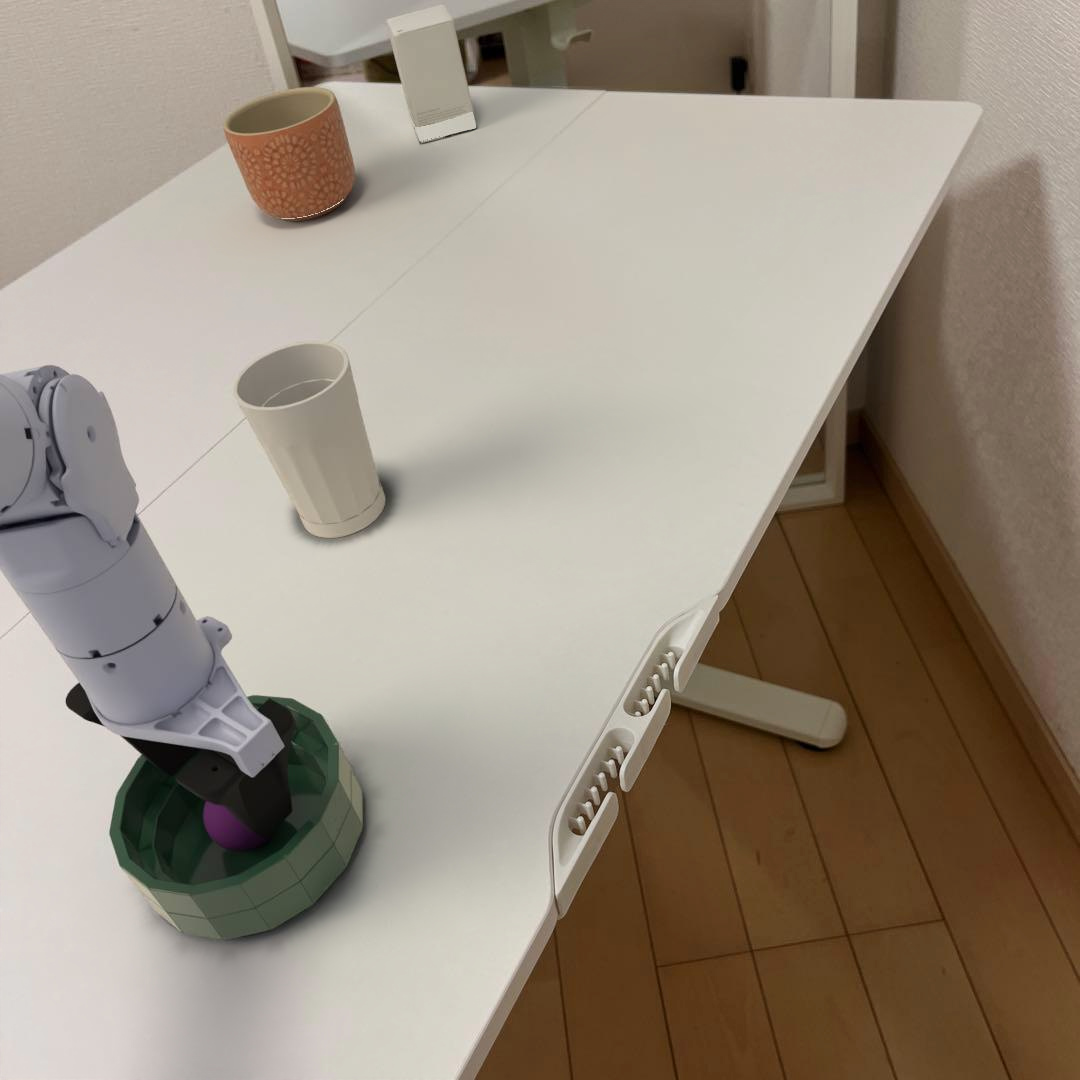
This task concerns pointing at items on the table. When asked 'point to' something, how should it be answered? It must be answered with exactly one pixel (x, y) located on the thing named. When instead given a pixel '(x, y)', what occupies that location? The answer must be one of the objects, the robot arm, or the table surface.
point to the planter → (292, 152)
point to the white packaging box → (430, 65)
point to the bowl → (249, 876)
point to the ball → (229, 829)
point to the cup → (314, 434)
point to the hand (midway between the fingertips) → (226, 790)
